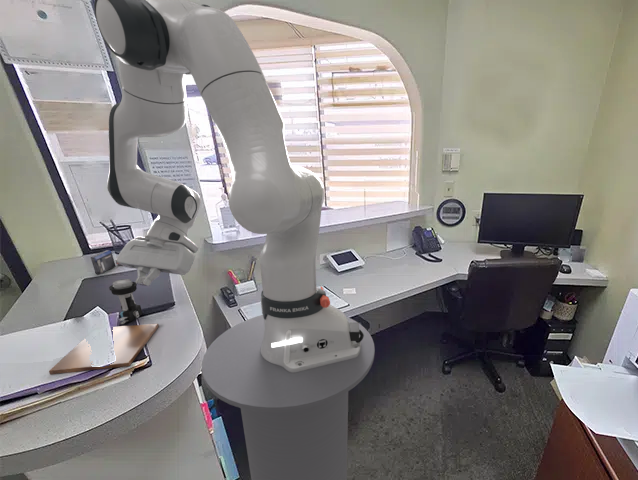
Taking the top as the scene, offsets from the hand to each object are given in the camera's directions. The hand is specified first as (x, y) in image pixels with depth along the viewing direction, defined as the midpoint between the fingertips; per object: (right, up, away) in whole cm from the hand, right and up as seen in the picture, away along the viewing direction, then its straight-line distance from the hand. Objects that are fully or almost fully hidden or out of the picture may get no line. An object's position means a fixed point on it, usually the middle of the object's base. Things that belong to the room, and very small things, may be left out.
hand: (142, 284), depth 81 cm
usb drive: (-34, +9, +39) cm, 52 cm away
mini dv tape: (-34, +5, +28) cm, 44 cm away
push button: (-2, -9, -2) cm, 9 cm away
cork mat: (+3, -14, -13) cm, 19 cm away
